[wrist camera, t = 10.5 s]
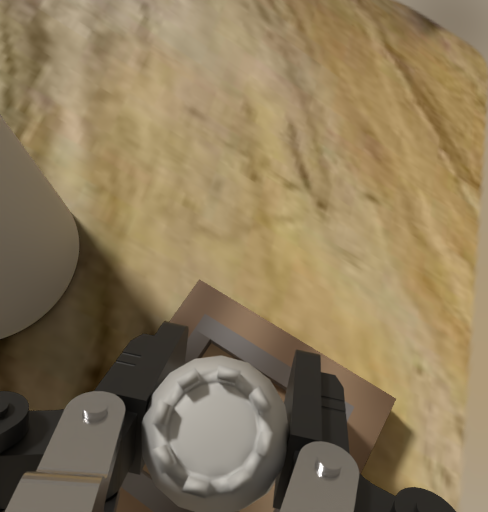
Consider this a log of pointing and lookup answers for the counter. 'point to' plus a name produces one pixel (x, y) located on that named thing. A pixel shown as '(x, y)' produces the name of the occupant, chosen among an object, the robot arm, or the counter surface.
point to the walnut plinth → (269, 364)
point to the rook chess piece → (215, 435)
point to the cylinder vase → (31, 239)
